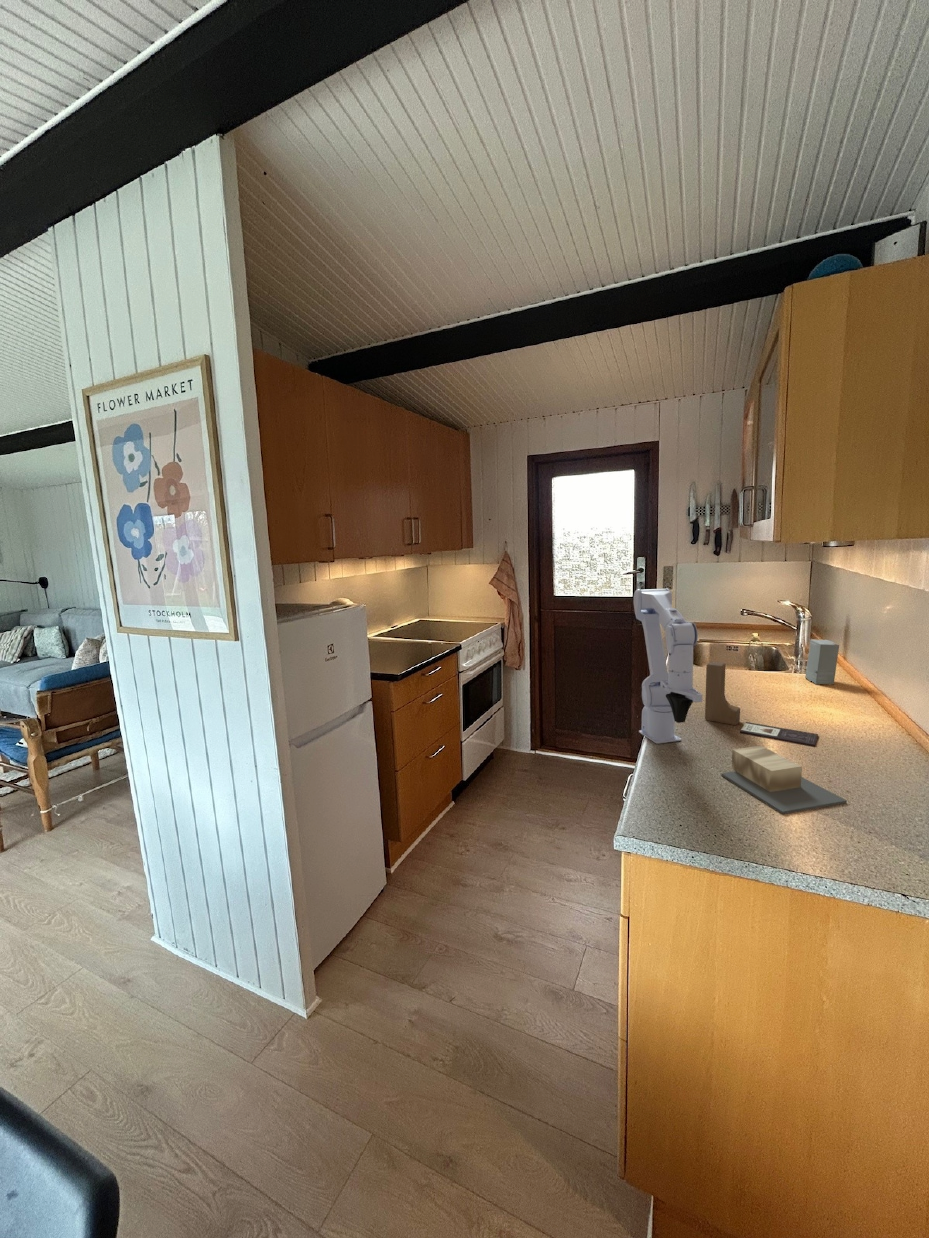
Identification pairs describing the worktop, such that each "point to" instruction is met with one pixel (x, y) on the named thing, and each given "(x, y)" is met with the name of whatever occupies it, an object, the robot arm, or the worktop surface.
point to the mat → (788, 795)
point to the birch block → (767, 768)
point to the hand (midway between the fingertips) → (679, 721)
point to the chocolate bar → (780, 734)
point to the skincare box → (822, 661)
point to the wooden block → (718, 696)
